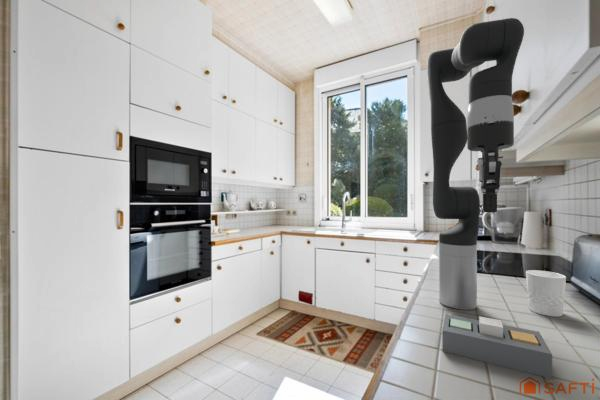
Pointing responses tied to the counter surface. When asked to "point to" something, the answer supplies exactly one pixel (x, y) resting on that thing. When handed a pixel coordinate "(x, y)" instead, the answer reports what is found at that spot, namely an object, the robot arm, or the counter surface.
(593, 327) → the counter surface
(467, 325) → the sage green key
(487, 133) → the robot arm
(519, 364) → the keypad
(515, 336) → the amber key
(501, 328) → the off-white key
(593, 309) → the counter surface
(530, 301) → the white cup
